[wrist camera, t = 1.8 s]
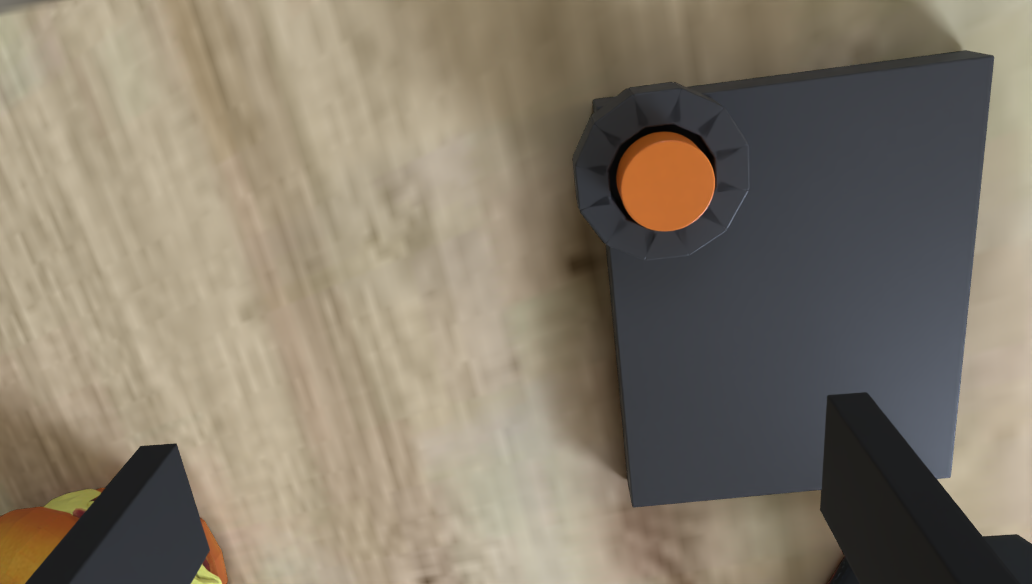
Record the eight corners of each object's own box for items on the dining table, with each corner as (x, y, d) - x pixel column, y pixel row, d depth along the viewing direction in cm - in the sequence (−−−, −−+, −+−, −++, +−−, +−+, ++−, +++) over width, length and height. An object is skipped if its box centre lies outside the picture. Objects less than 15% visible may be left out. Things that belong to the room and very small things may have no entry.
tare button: (612, 137, 27) (616, 146, 26) (704, 125, 27) (714, 134, 25) (619, 223, 28) (624, 237, 27) (707, 213, 28) (716, 226, 27)
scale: (563, 88, 29) (567, 102, 26) (968, 34, 28) (1024, 42, 25) (605, 484, 36) (612, 534, 33) (930, 453, 35) (970, 501, 32)
